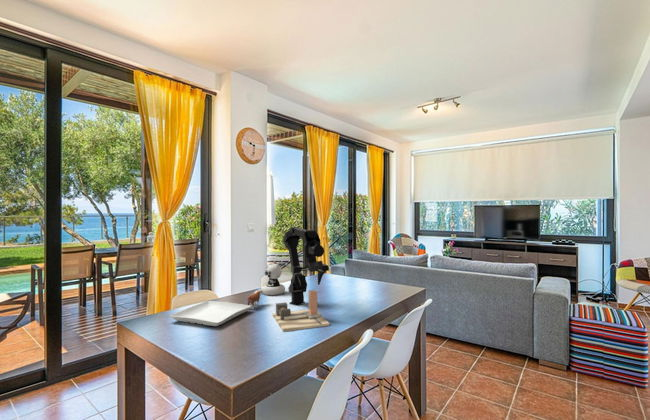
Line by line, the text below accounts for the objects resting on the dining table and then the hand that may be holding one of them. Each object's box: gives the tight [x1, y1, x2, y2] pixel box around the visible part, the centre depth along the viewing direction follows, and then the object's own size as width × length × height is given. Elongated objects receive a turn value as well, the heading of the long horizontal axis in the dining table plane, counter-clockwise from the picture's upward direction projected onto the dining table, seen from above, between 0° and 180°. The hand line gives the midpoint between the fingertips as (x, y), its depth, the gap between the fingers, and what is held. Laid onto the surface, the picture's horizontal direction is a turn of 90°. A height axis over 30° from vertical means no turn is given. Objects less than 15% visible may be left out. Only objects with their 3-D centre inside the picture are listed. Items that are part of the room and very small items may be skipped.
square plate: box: [169, 300, 252, 327], centre depth 160 cm, size 27×27×4 cm
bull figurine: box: [247, 288, 265, 310], centre depth 177 cm, size 4×13×8 cm, turn 161°
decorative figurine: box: [260, 261, 286, 296], centre depth 205 cm, size 15×15×20 cm
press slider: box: [280, 289, 322, 320], centre depth 154 cm, size 6×18×12 cm, turn 110°
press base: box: [272, 302, 331, 333], centre depth 154 cm, size 23×21×6 cm
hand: (310, 285), depth 168 cm, fingers open, 9 cm apart
